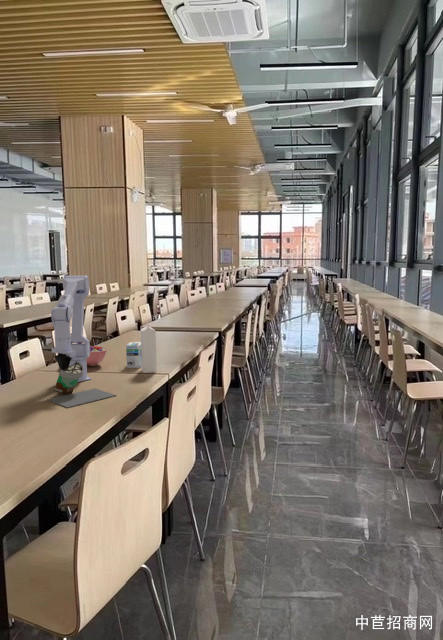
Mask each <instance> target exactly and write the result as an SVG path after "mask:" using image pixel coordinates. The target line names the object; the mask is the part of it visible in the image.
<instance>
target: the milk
mask: <svg viewBox="0 0 443 640" xmlns="http://www.w3.org/2000/svg"><path fill="white" fill-rule="evenodd" d="M156 332H157V331H156V329H154V328H152V327H151V326H150V323H149V322H146V325H145V326H144V327H143V328H141V329H140V342H141V359H142V366H141V371H142V372H143V374H144V373H146V374H147V373H157V372H158V371H157V340H156V339H157V337H156V336H157V335H156Z"/></svg>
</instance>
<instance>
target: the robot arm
mask: <svg viewBox="0 0 443 640" xmlns="http://www.w3.org/2000/svg"><path fill="white" fill-rule="evenodd" d="M62 288H63V289H64V292H63V294H61V296H60V297H59V298H58V301H57V303H56V306H54V307H53V308H52V309H51V313H50V314H51V315H50V316H51V321H52V326H53V327H54V328H53V329H54V347H51V353H52V354H57V355H54V356H53V357H54V359H55V361H56V362H57V364H58V368H59V370H60V371H61V370H64V369H66V368H67V367H68V366H71V365H73V364H74V363H75V362H76V361H78V362H79V363H80V364H81V365H82V366H83V375H82V377H80V378H79V380H78V382H77V383H79V382H84V381H88V380H89V381H90V380H92V377H89V376H88V366H87V361H86V359H87V358H88V357H89V356H90V346H91V345H90V343H91V342H90V340H89V339H88V338H86V337H85V336H84V317H85V312H84V311H85V299H86V298H87V297H88V296H89V293H90V279H89V276H88V275H87V274H84V275H66V274H65V275H64V276H63V278H62ZM77 343H79V344H77ZM60 371H59V372H60Z"/></svg>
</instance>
